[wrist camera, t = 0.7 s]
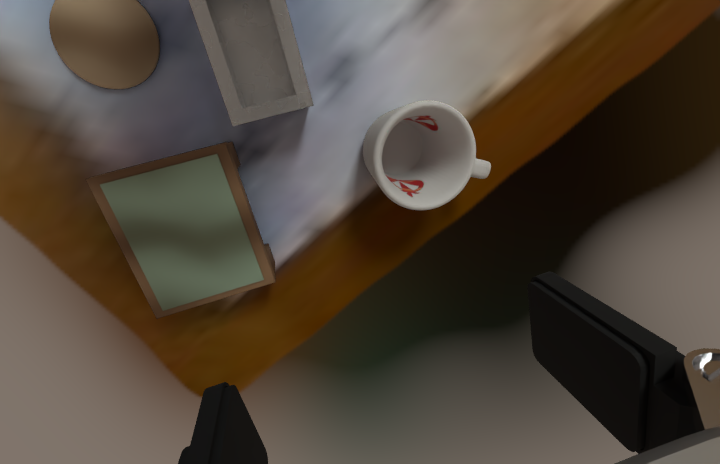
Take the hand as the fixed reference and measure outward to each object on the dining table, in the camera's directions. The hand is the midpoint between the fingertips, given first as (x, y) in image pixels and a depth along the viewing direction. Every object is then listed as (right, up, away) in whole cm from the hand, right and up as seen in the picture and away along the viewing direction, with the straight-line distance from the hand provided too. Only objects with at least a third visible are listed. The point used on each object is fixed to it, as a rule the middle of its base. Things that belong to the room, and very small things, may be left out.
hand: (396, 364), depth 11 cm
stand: (-15, +5, +22) cm, 27 cm away
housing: (-10, +19, +19) cm, 28 cm away
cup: (+3, +12, +24) cm, 27 cm away
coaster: (-20, +18, +16) cm, 31 cm away
